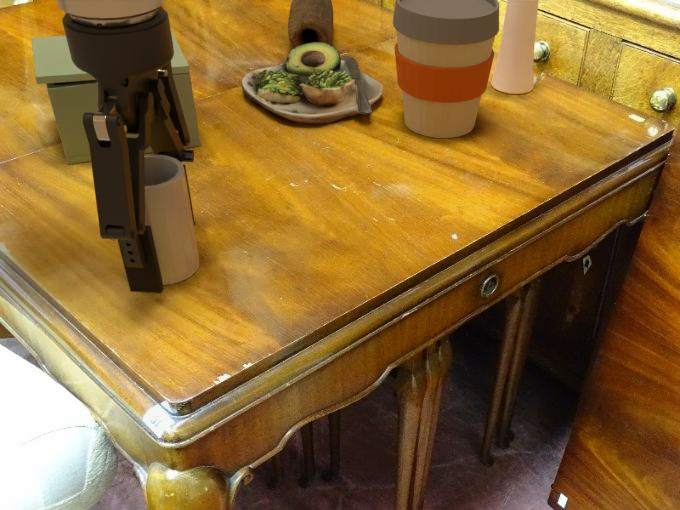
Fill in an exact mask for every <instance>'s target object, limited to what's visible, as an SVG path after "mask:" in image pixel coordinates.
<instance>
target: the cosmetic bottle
mask: <svg viewBox="0 0 680 510" xmlns="http://www.w3.org/2000/svg"><path fill="white" fill-rule="evenodd" d="M538 12H539V0H506V7H505V14H504V20H503V26H502V33H501V38H500V43H499V48H498V53H497V58H496V62H495V65H494V69H493V74H492V77H491V81H490V85H491V87H492V88H493V89H494V90H497V91H498V92H501V93H504V94H509V95H522V94H527V93H529V92H531V91H533V90H534V87H535V79H534V63H535V61H534V60H535V45H536V43H535V41H536V31H537V20H538Z"/></svg>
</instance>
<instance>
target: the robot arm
mask: <svg viewBox="0 0 680 510" xmlns="http://www.w3.org/2000/svg"><path fill="white" fill-rule="evenodd" d="M55 1H56V5H57V7H58V9H60V11H62V12H64V13H65V14H64V15H63V17H62V20H61V21H62V26H63V31H64V36H66V39H67V43H68V47H69V51H70V55H71V59H72V61H73V63H74V64H75V66H76V67H77V68H79V69H80V70H82V71H84V72H86V73H88V74H90V75H91V76H93V77H94V78H95V79H96V80H97V82H98V108H99V110H98V112H97V113H90V112H85V113H84V115H83V125H84V129H85V132H86V136H87V139H88V142H89V147H90V155H91V161H90V163H91V170H92V171H91V172H92V179H93V188H94V194H95V201H96V202H95V203H96V210H97V220H98V228H99V234H100V238H101V239H102V240H117V243H118V247H119V251H120V256H121V259H122V264H123V267H124V271H125V275H126V279H127V283H128V289H129V292H130V293H131V292H132V293H148V294H149V293H150V294H162V293H163V291H164V289H165V287H164V286H165V285H163V282H162V277H161V272H160V268H159V263H158V258H157V253H156V249H155V244H154V239H153V234H152V230H151V226H147V225H145V155H146V154H145V149H147V148H148V147H149V146H150V147H151V149H152V151H153V153H152V154H154V155H166V156H169V157H173V158H175V159H177V160H178V161H180V162H181V163H182V164H183V163H193V162H194V159H195V151H194V150H193V149H186V148H184V146H189V144H190V136H189V132H188V129H187V125H186V122H185V118H184V114H183V111H182V107H181V104H180V100H179V96H178V93H177V89H176V86H175V82H174V78H173V74H172V67H171V60H172V58H173V56H174V48H173V42H172V35H171V30H172V29H171V24H170V17H169V13H168V11H167V10H166V9H164V7H163V6H162V5H163V4H164V2H165V0H55ZM176 130H178V133H177V131H176ZM126 134H139V136H138V137H137V138H126ZM183 167H184V171H185V176H186V182H187V188H188V194H189V200H190V206H191V212H192V218H193V224H194V226H195V225H196V221H195V214H194V209H193V203H192V197H191V191H190V186H189V180H188V179H189V178H188V173H187V168H186V164H183Z"/></svg>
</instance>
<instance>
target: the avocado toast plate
mask: <svg viewBox="0 0 680 510" xmlns="http://www.w3.org/2000/svg"><path fill="white" fill-rule="evenodd" d="M285 58H286V60H285V61H284V63H282V64H280V65H273V66H267V67H262V68H258V69H255V70H252V71H251V70H250V71H249V72H247V73H246V74H245V75H243V78H242V80H241V89H242V91H243V93H244V95H245V96H246V97H247V98H248V99H249V100H250V101H252V102H254V103H256V104H258V105H259V106H261V107H263V109H266V110H267V111H270V112H271V113H273V114H276V115H277V116H280V117H283V118H285V119H286V120H289V121H291V122H294V123H301V124H310V125H311V124H315V125H319V124H321V125H322V124H327V123H328V124H329V123H333V122H336V121H339V120H343V119H346V118H349V117H355V116H357V115H359V114H361V115H370V114H372V113H373V108H372V105H374V103H376V102H377V101H379V99H380V98H381V96H382V94H383V91H384V87H383V84H382V83H380V82H379V81H377V80H376V79H375V78H372V77H371V76H369V75H367V74H365V72H362V71H361V70H360V68H359V62H358V61H357V59H356V58H355V57H353V56H347V55H345V56H343V58H341V54H340V52H339V51H338V49H337V48H336V47H335V46H333V45H331V43H330V44H326V43H322V42H313V43H307V44H303V45H300V46H297V47H295V48H294V47H293V48H292V49H291V50H290V51H289V52H288V54H286V56H285Z"/></svg>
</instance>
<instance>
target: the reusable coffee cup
mask: <svg viewBox="0 0 680 510" xmlns="http://www.w3.org/2000/svg"><path fill="white" fill-rule="evenodd" d="M392 17H393V18H392V19H393V20H392V25H393V28H394V29H395V33H396V34H395V35H396V43H395V44H394V47H393V48H394V49H393V50H394V58H395V69H396V77H397V78H396V79H397V85H398V87H399V89H400V90H401V94H402V95H401V96H402V105H403V106H402V107H403V116H404V117H403V118H404V123H405V126H406V127H407V128H408V129H409V130H410V131H412V132H414V133H416V134H418V135H421V136H424V137H429V138H436V139H449V138H450V139H453V138H457V137H461V136H462V137H463V136H464V135H467V134H469V133H470V132H471V131H472V130H473V129H474V128H475V125H476V120H477V116H478V111H479V107H480V103H481V98H482V95H484V94H485V92H486V90H487V87H488V83H489V80H490V75H491V70H492V66H493V63H494V58H495V50H494V49H493V47H494V44H495V39H496V36H497V35H498V34H499V32H500V2H499V0H395V2H394V9H393V16H392Z"/></svg>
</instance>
